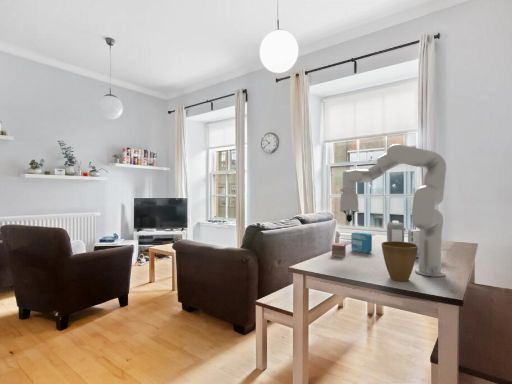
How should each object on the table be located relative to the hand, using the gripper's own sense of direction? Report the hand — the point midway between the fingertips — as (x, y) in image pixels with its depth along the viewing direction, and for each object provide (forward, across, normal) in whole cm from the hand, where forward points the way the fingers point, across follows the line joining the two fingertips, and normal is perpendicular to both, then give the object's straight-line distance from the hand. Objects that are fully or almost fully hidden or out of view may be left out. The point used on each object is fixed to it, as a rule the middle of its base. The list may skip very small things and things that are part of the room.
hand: (349, 221), depth 178 cm
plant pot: (+22, +25, -36) cm, 49 cm away
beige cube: (+14, -6, 0) cm, 15 cm away
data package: (+21, +6, +18) cm, 29 cm away
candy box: (+22, +40, +15) cm, 48 cm away
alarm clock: (+22, +26, +26) cm, 42 cm away
